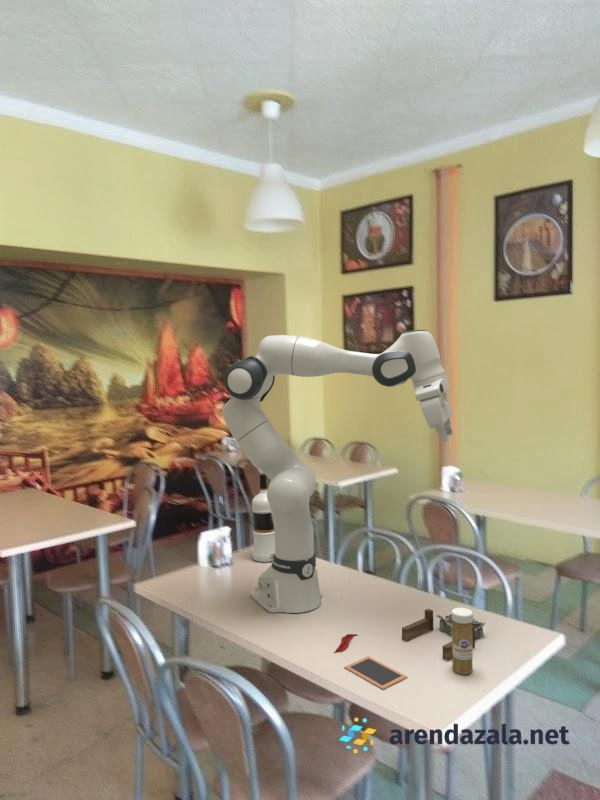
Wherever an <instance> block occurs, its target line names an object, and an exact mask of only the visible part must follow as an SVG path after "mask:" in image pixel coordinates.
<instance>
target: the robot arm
mask: <svg viewBox="0 0 600 800" xmlns="http://www.w3.org/2000/svg"><path fill="white" fill-rule="evenodd" d="M256 352H257V353H256V355H255V356H254V355H250V356H247V357H245V358H243V359H240V360H237V361H236V362H234V363H233V364H231V365H230V366H229V367H228V368H227V369H226V371H225V373H224V377H223V383H224V387H225V389H226V391H227V393H228V394H229V395H230V396H231V398H230V399H229V400H228V401H227V402H226V403H225V404H224V406H223V408H222V411H221V413H222V417H223V421H224V422H225V425H226V427H227V429H228V430H229V432H230V434H231V435H232V437H233V438H234V440H235V441H236V443H237V444H238V445H239V448H241V450H242V452H243V453H244V455H245V456H246V457H247V459H248V460H249V461H250V463H251V465H252V466H254V467H255V468H257V469H258V470H260V472H262V474H265V475H266V476H267V479H269V480H270V482H269V484H268V486H267V499H268V502H269V504H270V508H271V514H272V519H273V524H274V534H275V554H272V555H274V556H272V555H270V556H272V557H270V559H271V558H273V561H272V562H271V565H270V566H269V567H268V568H267V569H266V570H264V571H263V572H262V573H260V575H259V576H258V579H257V587H256V588H253V589H252V590H251V591H250V593H249V596H250V597H251V598H252V599H253V600H254V601H256V602H257V603H258V604H259V605H260V606H261V607H262V608H264V609H265V611H267V612H268V613H286V614H287V613H288V614H297V613H299V614H300V613H305V612H310V611H313V610H315V609H317V608H319V607H320V606H321V604H322V600H321V599H322V597H323V593H322V591H321V589H320V583H319V575H318V574H319V573H318V569H317V568H316V567H317V558H316V553H315V549H314V548H315V547H314V546H315V544H314V543H315V540H314V538H315V537H314V525H313V523H312V517H311V510H310V498H311V496H312V495H313V494H314V492H315V490H316V487H317V479H316V475H315V472H314V471H313V469H312V468H310V467H309V465H307V464H306V463H305V462H304V461H303V459H302V458H300V456H299V455H298V454H297V453H296V452H295V451H294V450H293V449H292V448H291V447H290V446H289V445H288V444H287V443H286V442H285V440H284V439H283V437H282V436H281V435H280V433H279V432H278V430H277V429H276V428H275V426H274V425H273V423H272V422H271V420H270V419H269V418H268V417H267V415H266V414H265V413H264V411H263V410H262V407H261V404H260V403H261V402H263V401H264V400H265V398H266V396H267V395H268V394H269V393H270V391H271V390H272V388H273V385H274V384H275V381H276V375H287V376H294V377H295V376H296V377H300V378H301V377H305V378H308V377H309V378H311V377H313V378H314V377H323V376H327V375H330V374H338V373H339V374H340V373H341V374H342V373H345V374H355V375H362V376H368V377H369V376H370V377H373V378H374V380H375V381H376V382H377V383H379V384H380V385H381V386H383V387H389V388H392V387H396V386H400V385H403V384H405V383H407V381H408V380H411V381H412V386H413V389H414V391H415V392H414V396H415V399H416V401H417V402H419V404H420V405H419V406H420V408H421V410H422V413H423V416H424V418H425V421H426V424H427V425H428V426H429V428H430V429H435V432H436V433H437V435H438V437H439V440H440V442H441V443H445V442H448V440H449V437H448V436H452V435H453V433H454V432H453V429H452V421H451V419H450V418H451V417H452V415H453V410H452V406H451V402H450V401H449V397H448V395H447V392H448V391H450V390H451V388H450V385H449V381H448V377H447V374H446V371H445V369H444V368H443V365H442V362H441V355H440V351H439V349H438V345H437V342H436V340H435V338H434V336H433V335H432V333H431V332H430V331H429V330H426V329H413V330H409V331H408V330H407V331H404V332H403V333H401V334H400V336H399V337H398V338H397V340H396V341H395V342H394V343H393V344H391V346H389V347H388V348H387V349H385V350H384V351H383V352H381V353H368V352H362V351H361V352H360V351H354V350H353V351H352V350H347V349H342V348H339V347H336V346H334V345H332V344H330V343H328V342H327V343H326V342H324V341H322V340H319V339H316V338H313V337H307V336H302V335H292V334H290V335H289V334H274V335H267V336H265V337H263V338H262V339H261V341H260V342H259V344H258V347H257V351H256Z"/></svg>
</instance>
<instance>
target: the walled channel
mask: <svg viewBox="0 0 600 800" xmlns="http://www.w3.org/2000/svg"><path fill="white" fill-rule="evenodd" d="M431 631H434V610H432V609H430V608H427V609H425V610H424V618H422V619H419V620H417V621H414V622H411V623H409V624H407V625H405V626H402V627H401V639H402V641H404V642H408V641H412V640H414V639H416V638H418V637H421V636H422V635H425V634H428V633H429V632H431ZM472 634H473V649H474V648H475V647H476V645H475V644H476V642H475V641H476V638H475V627H474V626H472ZM442 659H443V660H445V661H447V662H448V661H451V660H453V655H452V641H450V642H448V643H445V644H444V645H442Z"/></svg>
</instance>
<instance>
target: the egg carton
mask: <svg viewBox="0 0 600 800" xmlns="http://www.w3.org/2000/svg"><path fill="white" fill-rule="evenodd" d="M451 615H452V613H450V614H449V615H447V614H446V615H445V618H444V617H443V615H439V614H437V615H436V617H437V618H439V630H440V632H441V633H449V634H450V637H452V618H451ZM485 625H486V622H482V621H478V620H476V619H475V618H474V617H473V621H472V626H474V627H475V639H482V638H484V628H483V627H485Z"/></svg>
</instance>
